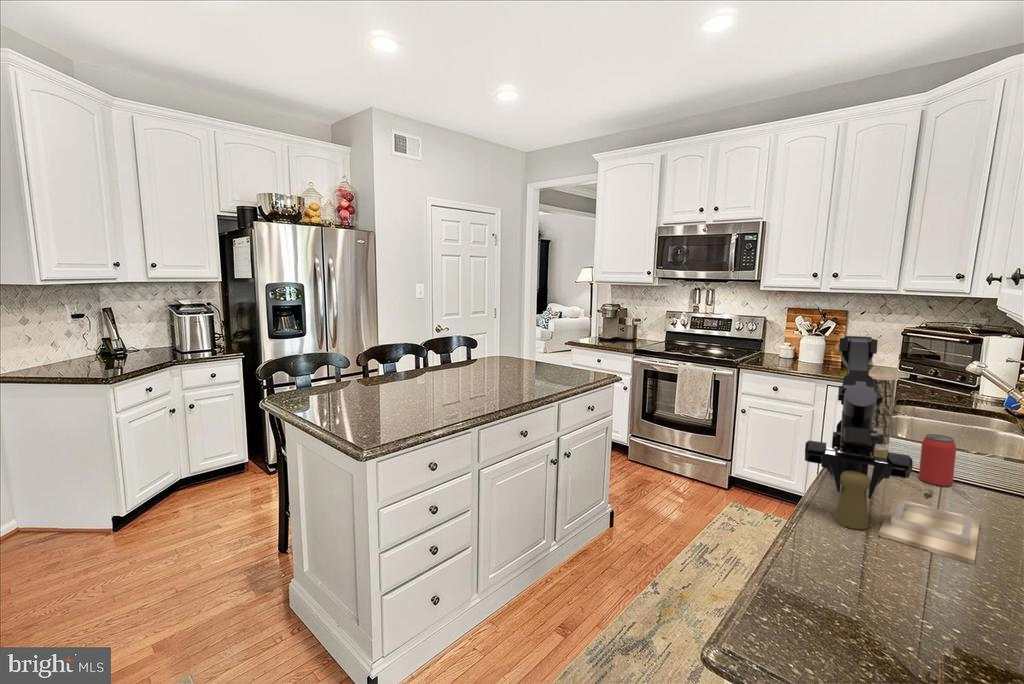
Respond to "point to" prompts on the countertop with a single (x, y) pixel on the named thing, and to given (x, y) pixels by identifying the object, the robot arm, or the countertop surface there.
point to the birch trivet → (933, 543)
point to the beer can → (937, 460)
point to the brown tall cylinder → (883, 411)
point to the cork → (853, 500)
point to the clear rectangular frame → (931, 531)
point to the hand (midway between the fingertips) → (853, 494)
